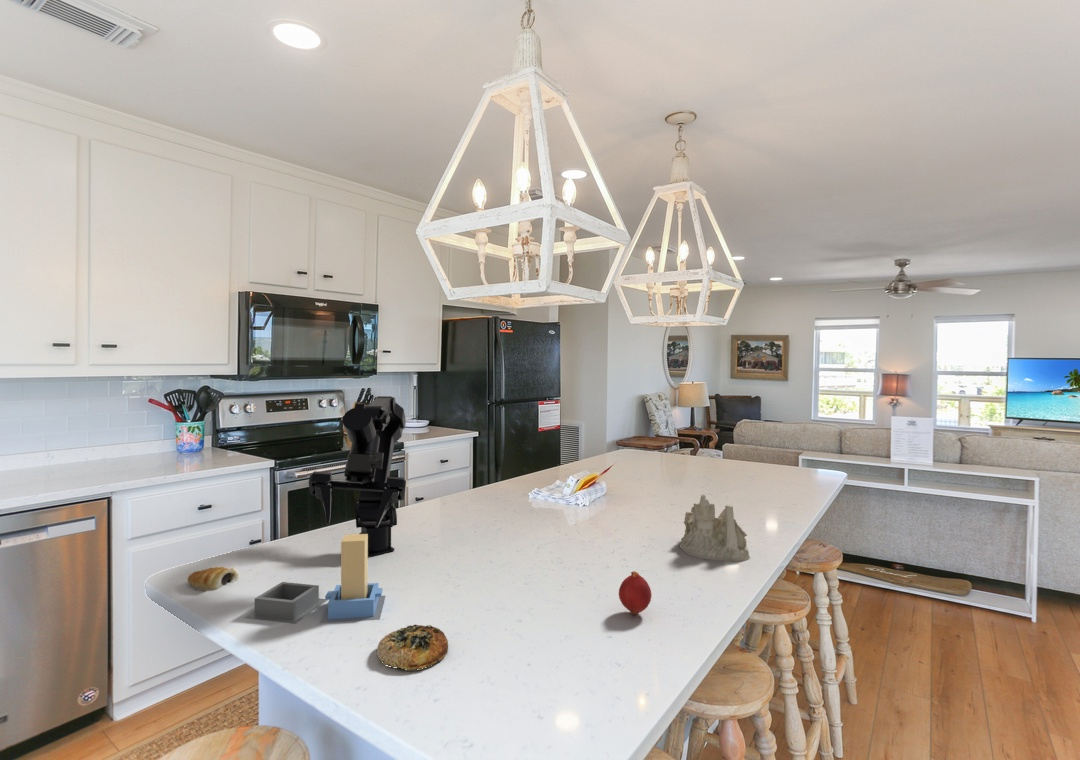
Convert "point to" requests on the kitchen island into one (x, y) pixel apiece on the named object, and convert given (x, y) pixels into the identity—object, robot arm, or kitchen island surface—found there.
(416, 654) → the bread roll
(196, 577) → the pastry
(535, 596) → the kitchen island surface
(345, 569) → the tall tan pillar
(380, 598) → the blue bezel socket
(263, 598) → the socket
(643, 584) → the onion
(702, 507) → the grey sandcastle model
